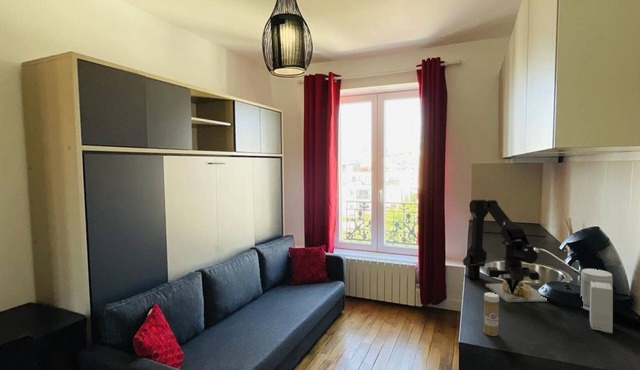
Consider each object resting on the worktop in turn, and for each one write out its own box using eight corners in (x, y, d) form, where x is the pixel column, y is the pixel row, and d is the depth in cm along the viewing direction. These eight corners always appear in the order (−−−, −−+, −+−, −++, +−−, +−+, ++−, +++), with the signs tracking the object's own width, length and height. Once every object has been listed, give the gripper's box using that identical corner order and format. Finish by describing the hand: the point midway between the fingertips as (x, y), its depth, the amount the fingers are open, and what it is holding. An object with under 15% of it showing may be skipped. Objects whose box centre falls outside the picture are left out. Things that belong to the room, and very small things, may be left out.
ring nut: (498, 286, 154) (498, 279, 154) (520, 285, 154) (520, 279, 154) (517, 298, 140) (517, 291, 140) (541, 297, 140) (541, 290, 140)
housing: (485, 286, 158) (485, 276, 158) (523, 285, 158) (524, 276, 158) (507, 302, 140) (507, 291, 140) (550, 301, 140) (551, 290, 140)
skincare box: (612, 334, 113) (614, 290, 112) (589, 329, 117) (591, 286, 116) (610, 324, 120) (612, 283, 119) (588, 319, 124) (590, 279, 123)
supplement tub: (583, 302, 139) (585, 266, 138) (614, 309, 132) (615, 272, 131) (576, 308, 133) (578, 271, 132) (608, 316, 126) (609, 277, 125)
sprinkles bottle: (488, 337, 112) (489, 297, 111) (480, 330, 117) (481, 292, 116) (501, 336, 113) (502, 296, 112) (493, 329, 117) (494, 291, 116)
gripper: (492, 260, 136) (492, 299, 137) (545, 263, 132) (544, 303, 132) (486, 253, 147) (485, 289, 148) (535, 256, 142) (534, 292, 143)
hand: (511, 293), depth 143 cm, fingers closed
